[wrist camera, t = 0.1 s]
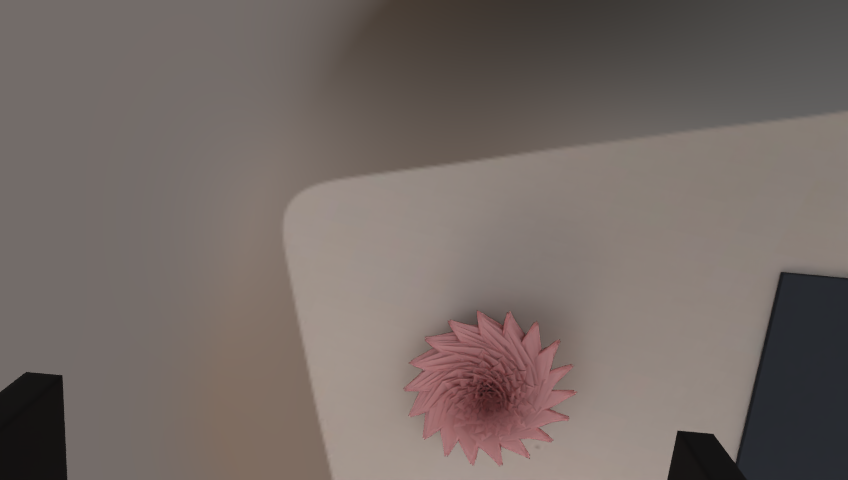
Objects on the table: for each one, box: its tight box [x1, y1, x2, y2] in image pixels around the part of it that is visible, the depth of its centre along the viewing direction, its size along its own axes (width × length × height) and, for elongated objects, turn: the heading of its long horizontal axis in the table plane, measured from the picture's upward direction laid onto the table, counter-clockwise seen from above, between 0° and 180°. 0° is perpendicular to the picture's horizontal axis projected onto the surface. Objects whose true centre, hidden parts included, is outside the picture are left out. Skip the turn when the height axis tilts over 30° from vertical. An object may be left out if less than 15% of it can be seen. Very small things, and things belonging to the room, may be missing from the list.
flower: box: [403, 310, 577, 466], centre depth 33 cm, size 8×8×6 cm
